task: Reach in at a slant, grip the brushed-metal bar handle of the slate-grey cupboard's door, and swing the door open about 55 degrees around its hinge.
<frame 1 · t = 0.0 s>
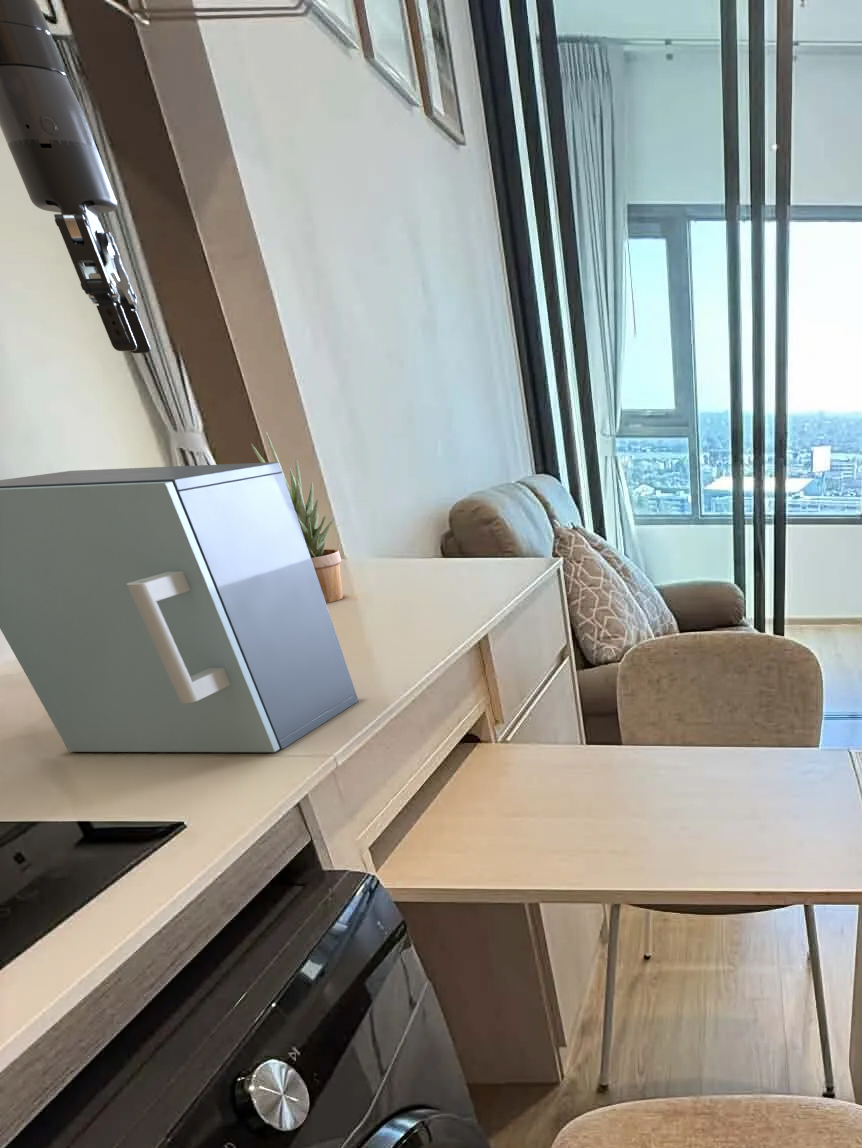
hand: (134, 352, 93), 34 cm above the counter, tool pointing down, fingers open, 8 cm apart
door: (93, 638, 79), point 12 cm above the counter, hinge at 0.0°
potted plant: (325, 601, 150), on the counter
cupboard: (225, 723, 95), on the counter
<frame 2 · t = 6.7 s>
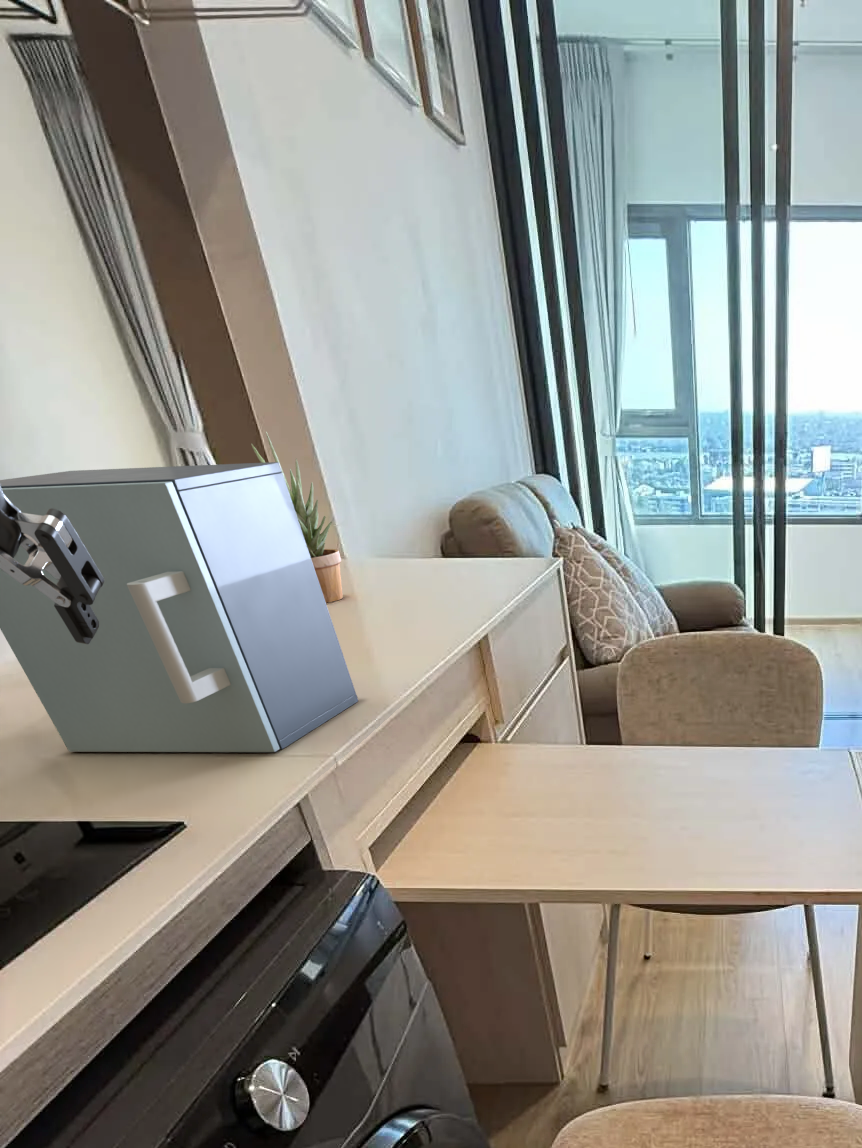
hand: (27, 626, 67), 15 cm above the counter, tool tilted 30°, fingers open, 8 cm apart
nothing on the counter moved.
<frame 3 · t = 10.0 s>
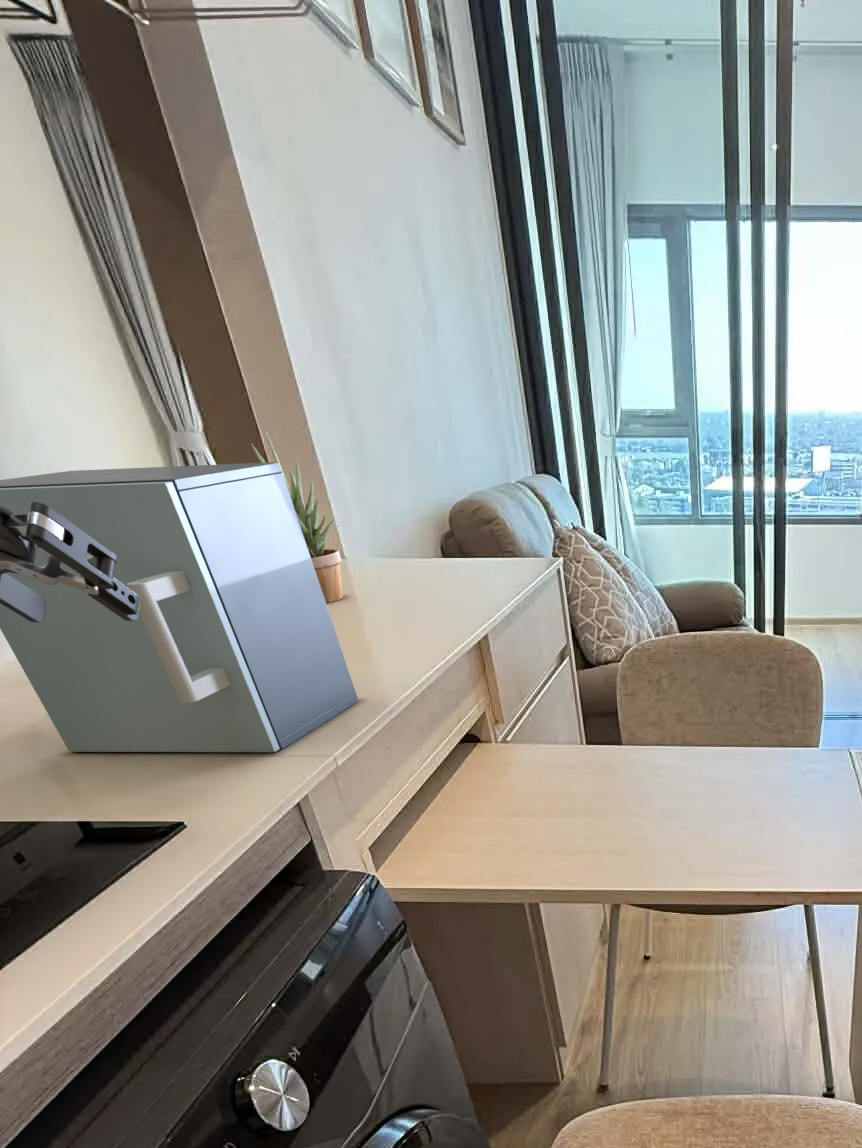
hand: (88, 611, 68), 16 cm above the counter, tool tilted 45°, fingers open, 8 cm apart
nothing on the counter moved.
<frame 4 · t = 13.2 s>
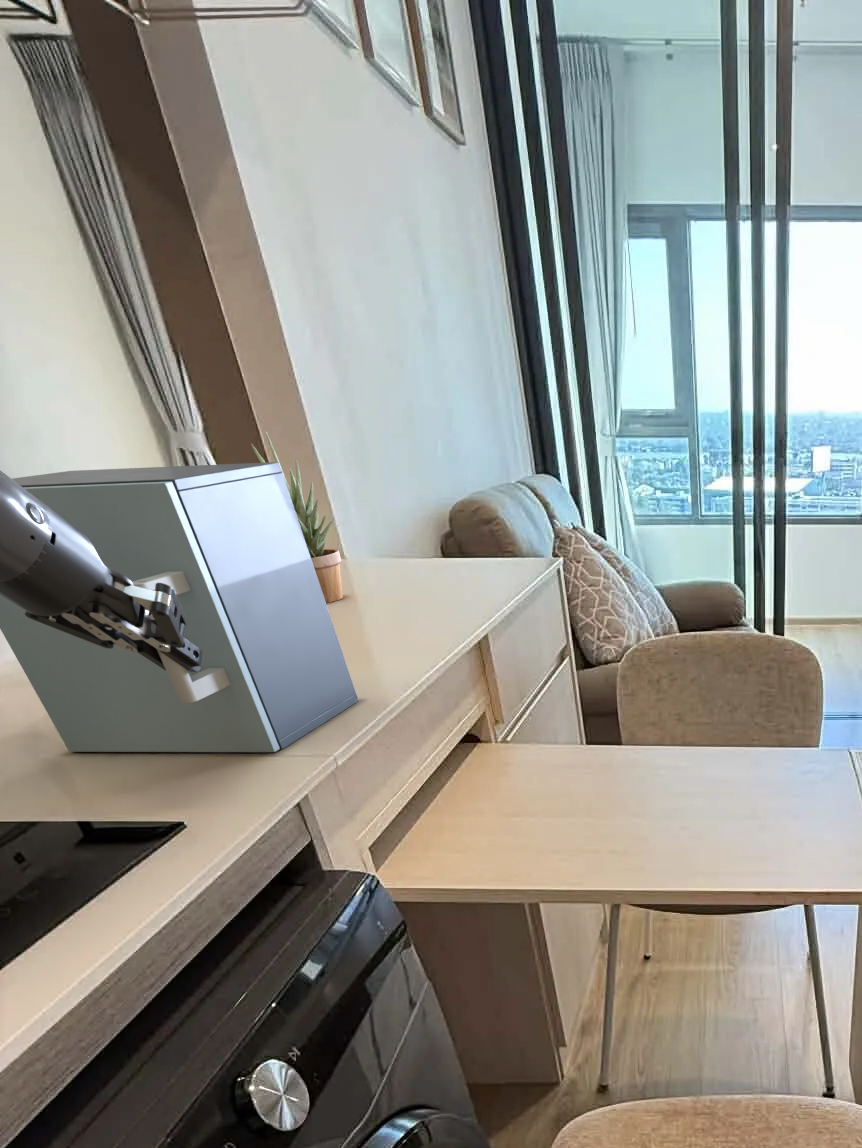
hand: (186, 662, 78), 10 cm above the counter, tool tilted 45°, fingers closed on door
door: (93, 638, 79), point 12 cm above the counter, hinge at 0.0°, touching gripper
everything else where it was.
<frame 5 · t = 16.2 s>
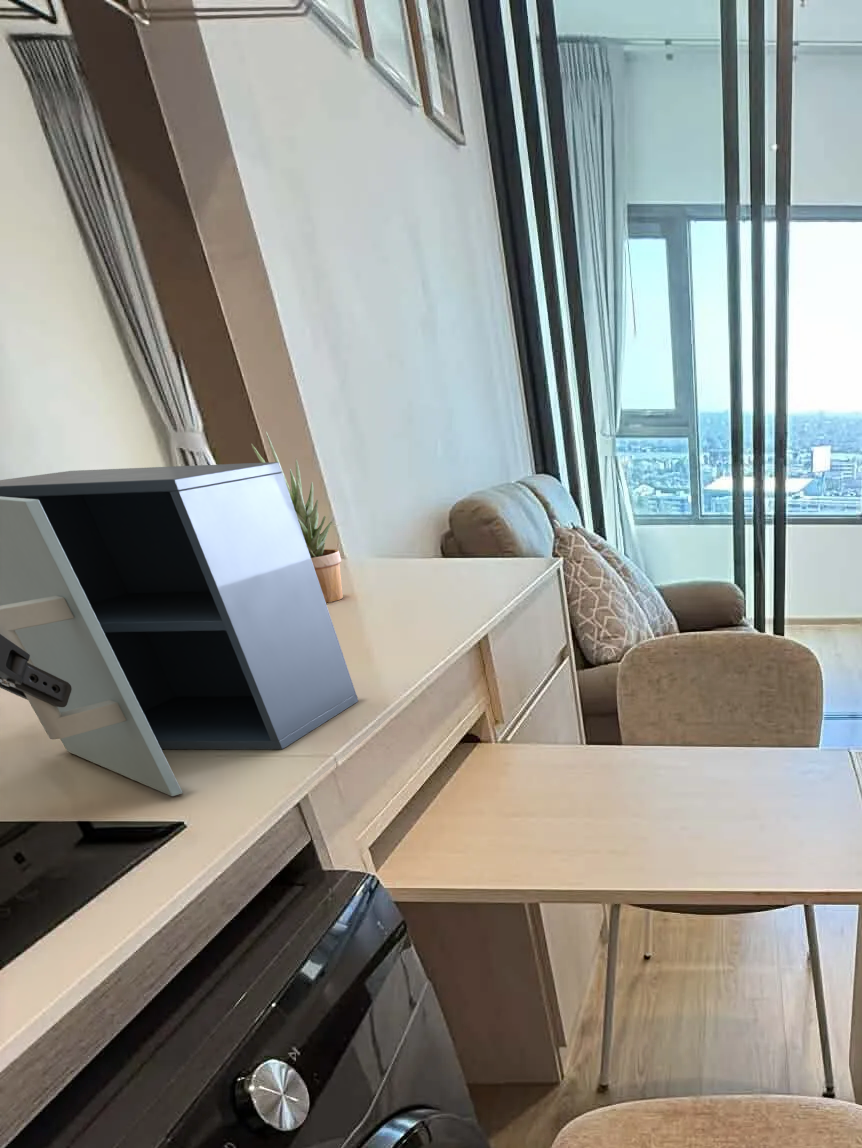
hand: (57, 695, 71), 10 cm above the counter, tool tilted 45°, fingers closed on door
door: (19, 653, 75), point 12 cm above the counter, hinge at 28.9°, touching gripper
everything else where it was.
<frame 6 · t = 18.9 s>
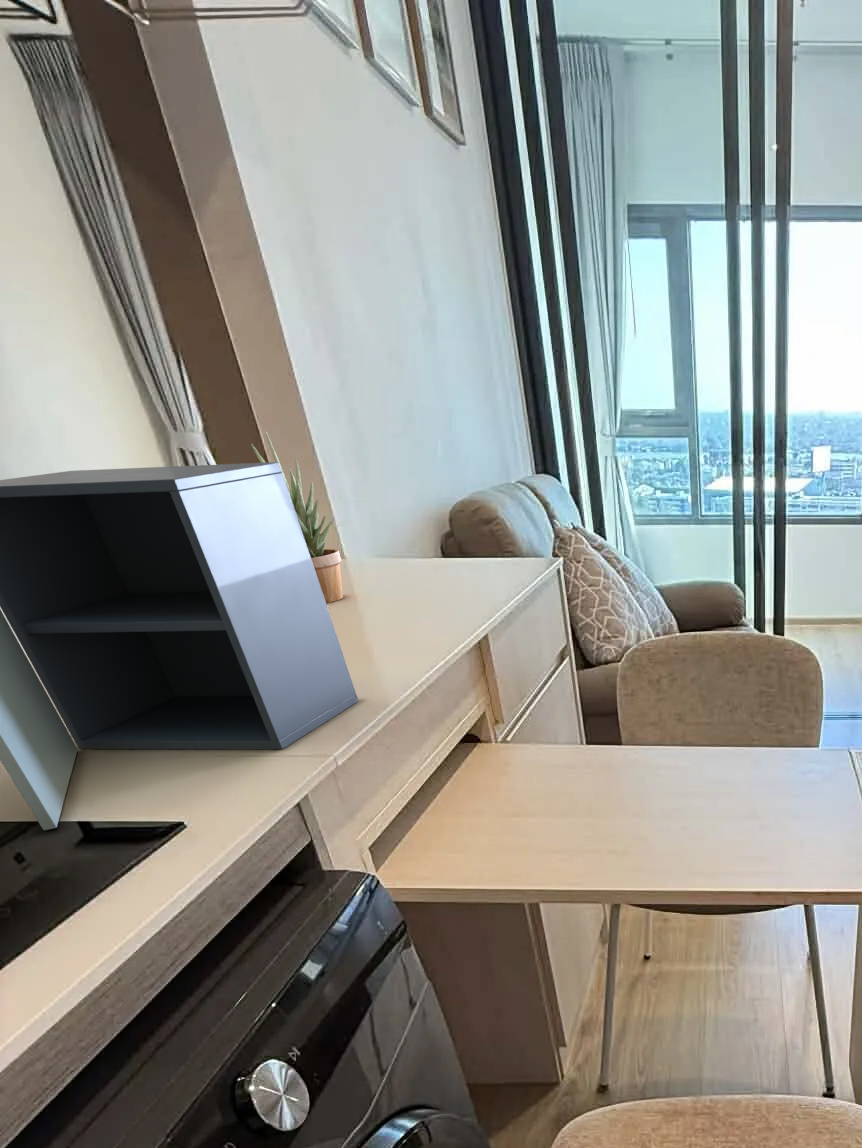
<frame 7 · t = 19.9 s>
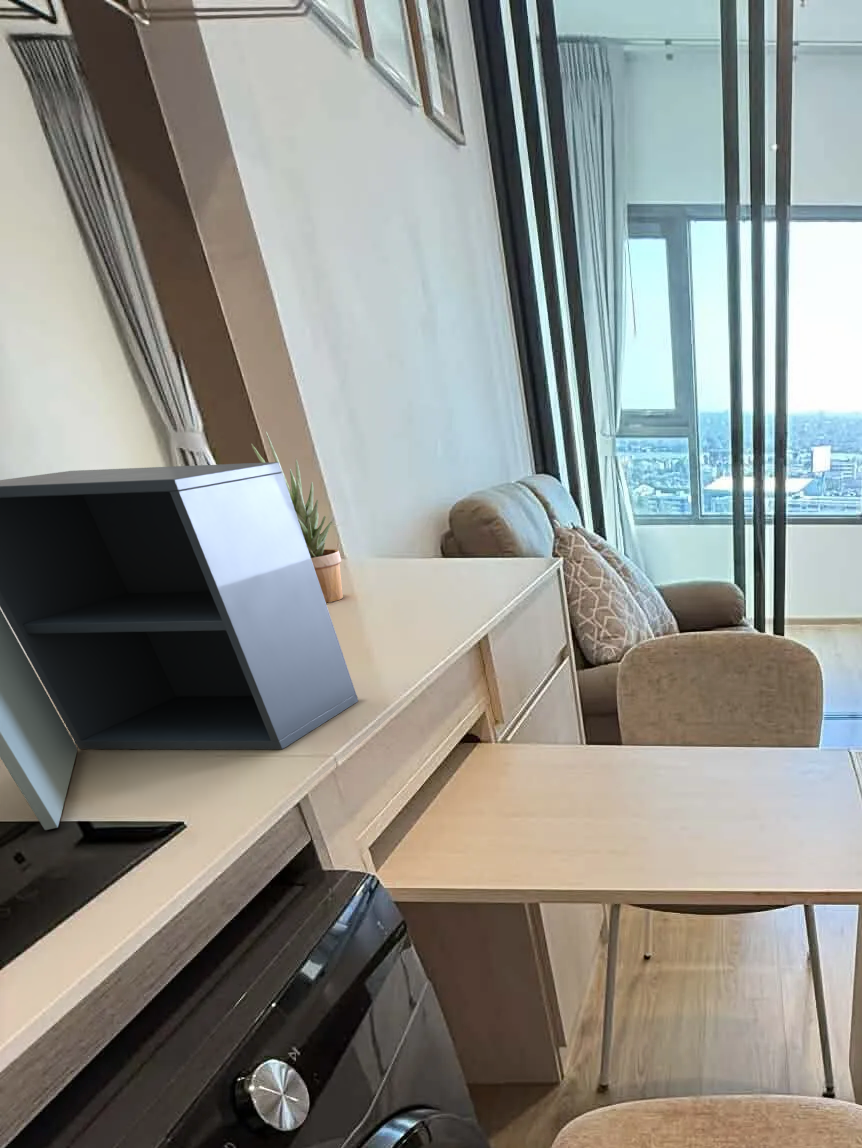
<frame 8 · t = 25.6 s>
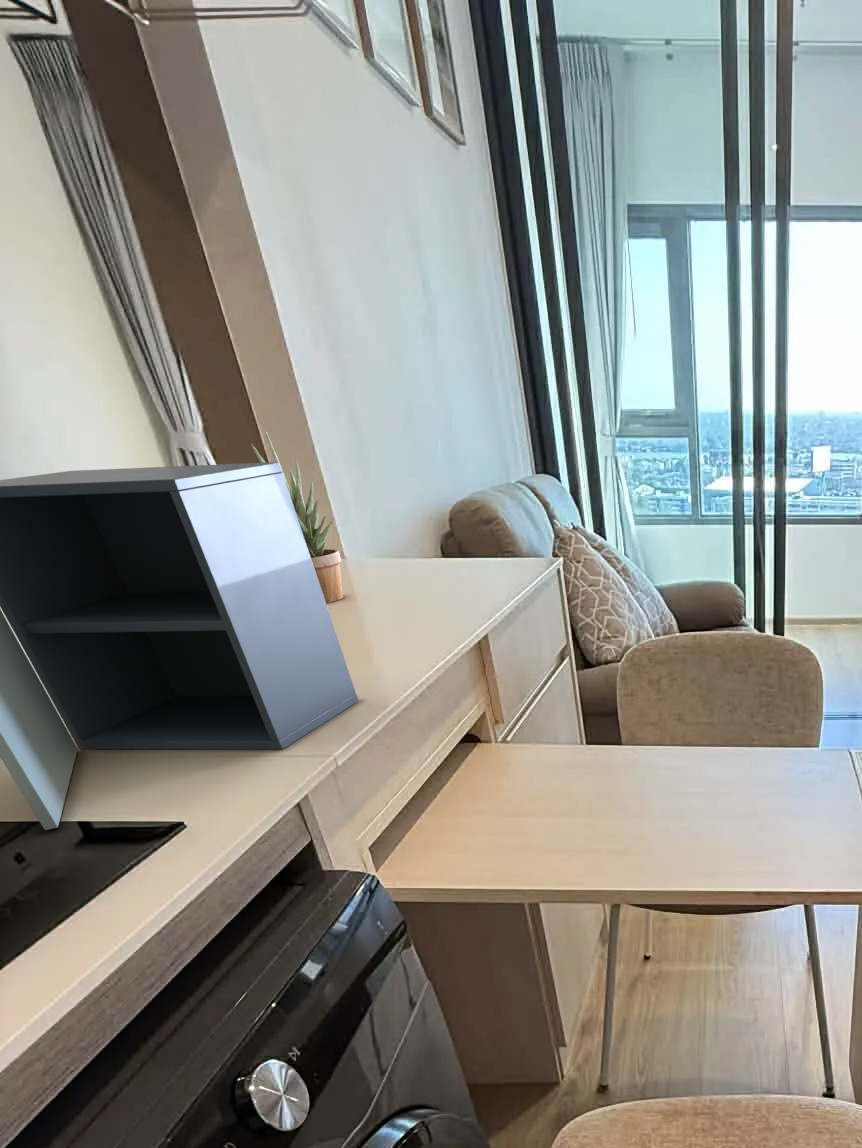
at the end: door at +53° (first picture: +0°); the gripper is holding nothing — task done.
